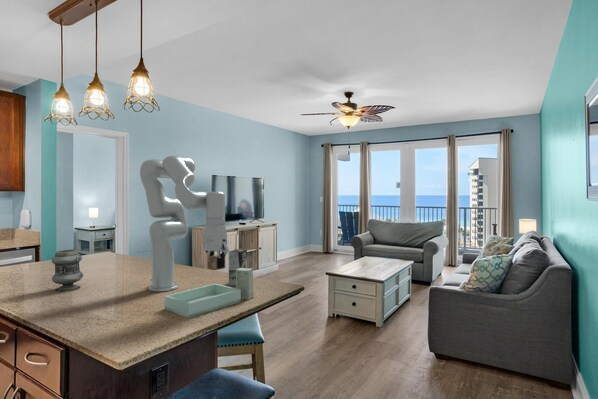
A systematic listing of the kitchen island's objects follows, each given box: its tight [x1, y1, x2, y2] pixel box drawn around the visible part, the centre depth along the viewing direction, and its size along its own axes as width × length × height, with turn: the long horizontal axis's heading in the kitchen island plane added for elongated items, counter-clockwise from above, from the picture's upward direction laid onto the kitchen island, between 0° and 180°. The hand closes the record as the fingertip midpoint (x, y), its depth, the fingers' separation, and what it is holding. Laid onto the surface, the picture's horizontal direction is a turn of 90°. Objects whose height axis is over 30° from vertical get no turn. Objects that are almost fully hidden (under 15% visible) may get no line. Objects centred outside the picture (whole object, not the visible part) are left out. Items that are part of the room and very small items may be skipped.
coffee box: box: [228, 248, 248, 286], centre depth 174 cm, size 9×6×16 cm
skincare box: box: [235, 267, 255, 300], centre depth 149 cm, size 6×4×12 cm
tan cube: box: [206, 254, 226, 271], centre depth 143 cm, size 5×5×5 cm
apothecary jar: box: [51, 248, 84, 293], centre depth 164 cm, size 12×12×18 cm
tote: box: [164, 283, 242, 319], centre depth 139 cm, size 16×24×5 cm, turn 141°
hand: (216, 266), depth 143 cm, fingers closed on tan cube, 4 cm apart
